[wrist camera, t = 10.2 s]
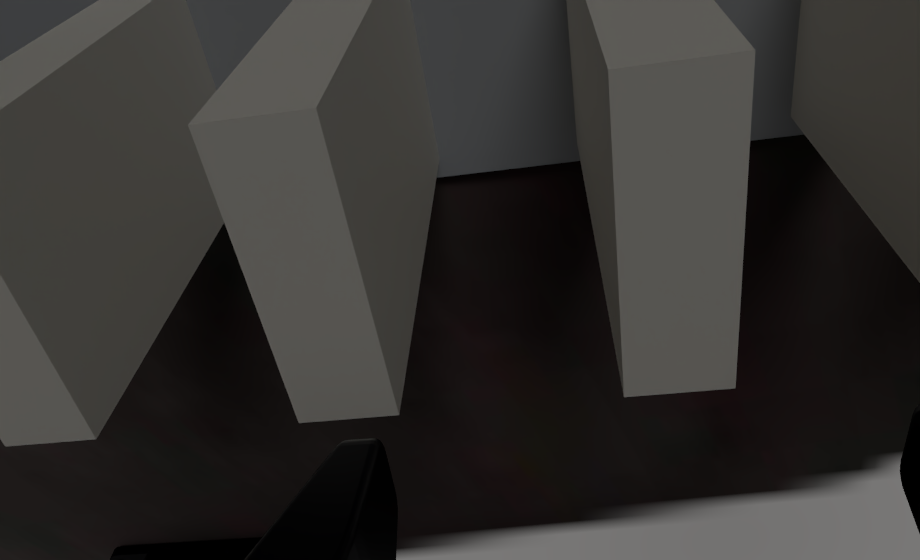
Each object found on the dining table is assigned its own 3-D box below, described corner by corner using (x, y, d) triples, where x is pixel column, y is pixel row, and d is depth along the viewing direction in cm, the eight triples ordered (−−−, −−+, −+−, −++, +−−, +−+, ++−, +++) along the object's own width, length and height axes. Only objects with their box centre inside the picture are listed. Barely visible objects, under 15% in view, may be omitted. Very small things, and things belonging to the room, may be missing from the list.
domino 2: (400, -53, 17) (316, 107, 9) (439, 159, 19) (399, 415, 12) (327, -42, 17) (188, 124, 9) (376, 166, 20) (299, 422, 12)
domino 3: (638, -91, 16) (756, 50, 9) (643, 134, 19) (735, 388, 11) (560, -79, 16) (607, 69, 9) (577, 142, 19) (624, 397, 11)
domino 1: (179, -19, 17) (-68, 158, 10) (248, 182, 20) (95, 439, 13) (111, -9, 17) (-181, 173, 10) (189, 189, 20) (6, 446, 13)
